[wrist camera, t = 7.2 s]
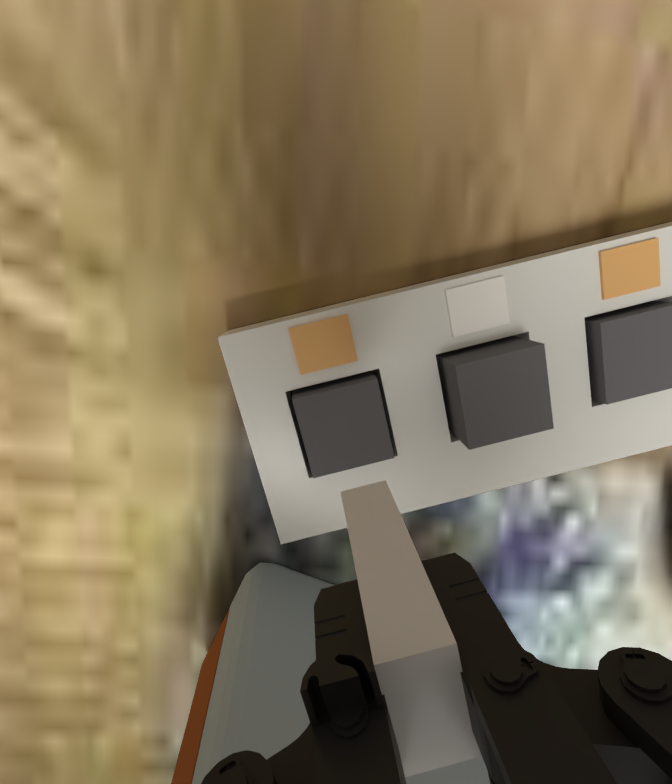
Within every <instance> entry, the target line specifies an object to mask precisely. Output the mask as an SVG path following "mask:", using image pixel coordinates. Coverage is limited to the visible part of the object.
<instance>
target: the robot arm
mask: <svg viewBox="0 0 672 784" xmlns="http://www.w3.org/2000/svg"><path fill="white" fill-rule="evenodd" d="M341 498H342V503H343V508H344V513H345V518H346V523H347V529H348V534H349V539H350V544H351V549H352V555H353V560H354V565H355V570H356V575H357V580H354V581H350V582H346V583H342V584H338V585H334V586H331V587H327V588H323V589H321V590H320V592H319V595H318V597H317V599H316V601H315V604H314V623H315V639H316V641H315V649H316V661H315V662H313V663H312V664H311V665H310V666H309V668H308V670H307V671H306V673H305V675H304V676H303V678H302V683H301V688H300V693H301V696H302V699H303V702H304V705H305V708H306V711H307V714H308V717H309V720H310V723H309V725H308V727H307V728H306V729H305V731H304V732H303V733H302V734H301V735H300V736H299V738H297V739H296V740H295V741H293V742H292V743H291V744H290V745H288V746H287V747H285V748H284V749H282V750H281V751H279V752H278V753H276V754H274V755H273V756H271V757H270V758H268V759H267V760H266V759H265V758H264V757H263V756H262V755H261V754H260V753H258V752H253V751H249V750H245V751H241V752H236V753H232V754H231V755H229V756H227V757H226V758H224V759H223V760H221V761H219V762H218V763H217V764H216V765H215V766H214V767H213V768H212V769H211V770H210V772H209V773H208V774H207V775H206V776H205V777H204V779H203V781H202V783H201V784H406V780H405V777H408V776H412V775H415V774H419V773H423V772H427V771H430V770H434V769H438V768H441V767H445V766H449V765H452V764H456V763H460V762H464V761H467V760H471V759H475V758H478V757H480V754H479V750H480V752H481V755H482V758H483V760H484V763H485V765H486V768H487V771H488V776H489V781H490V784H672V661H671V660H669V659H667V658H665V657H664V656H662V655H660V654H658V653H655V652H652V651H649V650H645V649H642V648H630V647H622V648H618V649H615V650H612V651H609V652H608V653H607V654H606V655H605V656H604V657H603V658H602V659H600V662H599V667H598V670H588V669H568V668H561V667H555V666H552V665H549V664H546V663H543V662H541V661H539V660H538V659H536V658H535V657H534V655H533V654H531V653H529V652H527V651H525V650H524V649H523V648H522V647H521V645H520V644H519V643H518V642H517V640H516V638H515V637H514V635H513V633H512V632H511V630H510V628H509V627H508V625H507V623H506V622H505V620H504V619H503V617H502V615H501V614H500V612H499V610H498V609H497V607H496V605H495V604H494V602H493V600H492V599H491V597H490V595H489V594H488V593H487V591H486V589H485V587H484V586H483V584H482V582H481V581H480V580H479V577H478V576H477V574H476V572H475V571H474V569H473V567H472V566H471V564H470V563H469V562H467V561H466V560H465V559H463V558H462V557H460V556H459V555H457V554H456V553H452V554H448V555H444V556H440V557H436V558H432V559H429V560H425V561H421V560H420V558H419V555H418V553H417V551H416V548H415V546H414V544H413V541H412V539H411V537H410V535H409V532H408V530H407V528H406V525H405V523H404V521H403V518H402V516H401V514H400V512H399V509H398V507H397V505H396V502H395V500H394V498H393V495H392V493H391V491H390V488H389V486H388V484H387V482H386V480H384V481H380V482H376V483H372V484H368V485H364V486H360V487H357V488H353V489H349V490H345V491H341ZM478 747H479V749H478Z"/></svg>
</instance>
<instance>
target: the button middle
mask: <svg viewBox="0 0 672 784" xmlns="http://www.w3.org/2000/svg"><path fill="white" fill-rule="evenodd" d="M436 360H437V366H438V371H439V377H440V382H441V388H442V394H443V399H444V405H445V411H446V416H447V422H448V427H449V430H450V431H451V432H452V433H453V434H454V435H455V436H456V437H457V438H458V439H459V440H460V441H461V442H462V443H463V444H464V445H465V446H466V447H467V448H468V449H469V450H471V449H475V448H479V447H483V446H486V445H490V444H494V443H498V442H502V441H506V440H510V439H514V438H518V437H522V436H526V435H530V434H534V433H538V432H542V431H546V430H550V429H554V426H553V417H552V408H551V399H550V390H549V381H548V372H547V363H546V354H545V345H544V344H543V343H540V342H536V341H532V340H528V339H524V338H520V337H517V336H509V337H505V338H501V339H497V340H493V341H489V342H485V343H481V344H477V345H473V346H469V347H465V348H461V349H457V350H453V351H449V352H445V353H441V354H437V355H436Z"/></svg>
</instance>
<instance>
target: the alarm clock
mask: <svg viewBox="0 0 672 784" xmlns="http://www.w3.org/2000/svg"><path fill="white" fill-rule="evenodd" d="M331 586H334V585H333V584H330V583H327V582H325V581H322V580H319V579H316V578H314V577H311V576H308V575H305V574H302V573H300V572H297V571H294V570H291V569H288V568H286V567H283V566H280V565H277V564H275V563H261V562H260V563H259V564H257V565H256V566H255V567H254V568H252V569H251V570H250V571H249V572H248V573H247V574H245V577H244V579H243V581H242V583H241V585H240V587H239V589H238V591H237V593H236V595H235V597H234V599H233V601H232V603H231V605H230V608H229V610H228V612H227V614H226V616H225V618H224V620H223V622H222V624H221V626H220V628H219V630H218V632H217V634H216V637H215V639H214V641H213V643H212V645H211V647H210V649H209V651H208V653H207V655H206V657H205V659H204V661H203V663H202V666H201V670H200V674H199V678H198V682H197V686H196V690H195V694H194V698H193V702H192V706H191V710H190V714H189V718H188V722H187V725H186V729H185V733H184V737H183V741H182V745H181V748H180V752H179V756H178V760H177V764H176V768H175V771H174V775H173V779H172V783H171V784H201V783H202V781H203V779H204V777H205V776H206V775H207V774H208V773H209V772H210V770H211V769H212V768H213V767H214V766H215V765H216V764H217V763H218V762H219V761H221V760H223V759H224V758H226V757H227V756H229V755H231V754H232V753H236V752H241V751H245V750H249V751H253V752H258V753H260V754H261V755H262V756H263V757H264V758H265V759H266V760H267V759H268V758H270V757H271V756H273V755H274V754H276V753H278V752H279V751H281V750H282V749H284V748H285V747H287V746H288V745H290V744H291V743H292V742H293V741H295V740H296V739H297V738H299V736H300V735H301V734H302V733H303V732H304V731H305V729H306V728H307V727H308V725H309V723H310V720H309V717H308V714H307V711H306V708H305V705H304V702H303V699H302V696H301V693H300V688H301V683H302V678H303V676H304V675H305V673H306V671H307V670H308V668H309V666H310V665H311V664H312V663H313V662H315V661H316V649H315V641H316V639H315V623H314V604H315V601H316V599H317V597H318V595H319V592H320V590H321V589H323V588H327V587H331ZM478 749H479V747H478ZM479 754H480V757H478V758H475V759H471V760H467V761H464V762H460V763H456V764H452V765H449V766H445V767H441V768H438V769H434V770H430V771H427V772H423V773H419V774H415V775H412V776H408V777H405V780H406V784H490V781H489V776H488V771H487V768H486V765H485V763H484V760H483V758H482V755H481V752H480V750H479Z"/></svg>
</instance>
